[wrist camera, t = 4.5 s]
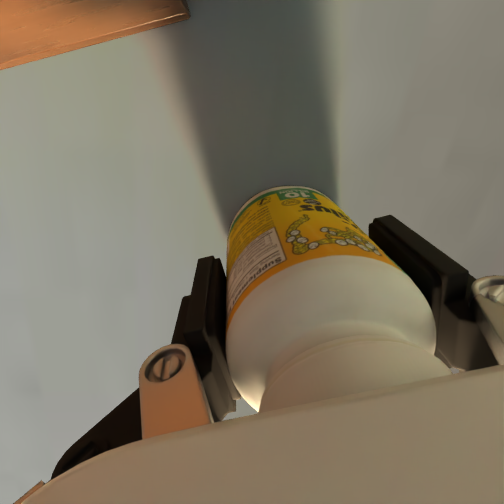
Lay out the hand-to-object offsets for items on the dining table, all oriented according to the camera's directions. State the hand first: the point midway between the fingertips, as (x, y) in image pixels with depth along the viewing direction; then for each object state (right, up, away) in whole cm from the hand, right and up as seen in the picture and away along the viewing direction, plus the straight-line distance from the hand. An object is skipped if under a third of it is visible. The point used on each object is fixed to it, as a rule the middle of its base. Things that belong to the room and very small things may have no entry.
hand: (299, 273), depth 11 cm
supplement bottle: (0, +1, +3) cm, 3 cm away
